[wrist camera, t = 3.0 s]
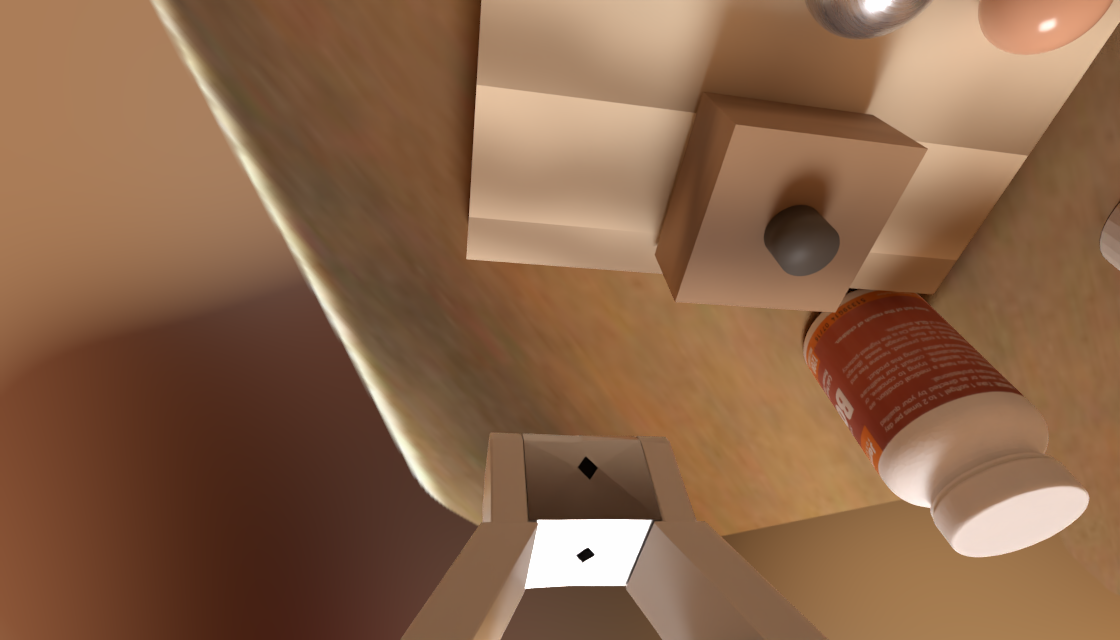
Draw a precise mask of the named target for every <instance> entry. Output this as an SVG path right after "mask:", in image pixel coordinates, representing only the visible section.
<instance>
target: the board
mask: <svg viewBox="0 0 1120 640" xmlns="http://www.w3.org/2000/svg"><path fill="white" fill-rule="evenodd" d="M979 1H980V0H934V1H933V2H932V3H931V4H930V5H929V6H928V7H927V8H926V9H925V10H924V11H923V12H922V13H921V14H920V15H919V16H918V17H916V18H915V19H914V20H912V21H911V22H910V23H908V24H906V25H905V26H903V27H902V28H900V29H898V30H896V31H893V32H891V33H889V34H886V35H883V36H880V37H875V38H871V39H848V38H844V37H840V36H837V35H834V34H832V33H830V32H829V31H827V30H826V29H824V28H823V27H821V26H820V25H819V24H818V23H817V22H816V21H815V19H814V18H813V16H812V15H811V14H810V12H809V10H808V8H807V6H806V3H805V0H481V17H480V34H479V52H478V69H477V86H476V104H475V121H474V138H473V156H472V173H471V190H470V208H469V225H468V242H467V259H473V260H486V261H499V262H512V263H525V264H539V265H552V266H565V267H578V268H592V269H605V270H618V271H631V272H644V273H658V274H663V273H662V271H661V268H660V266H659V264H658V262H657V259H656V257H655V252H656V248H657V245H658V242H659V238H660V235H661V232H662V228H663V225H664V221H665V218H666V215H667V211H668V208H669V205H670V201H671V198H672V194H673V191H674V188H675V184H676V181H677V177H678V174H679V171H680V167H681V164H682V161H683V157H684V154H685V150H686V147H687V144H688V140H689V137H690V134H691V130H692V127H693V123H694V120H695V117H696V113H697V110H698V106H699V103H700V100H701V96H702V93H703V92H709V93H716V94H724V95H731V96H739V97H746V98H753V99H761V100H768V101H775V102H783V103H790V104H797V105H805V106H812V107H819V108H827V109H834V110H841V111H849V112H856V113H864V114H871V115H874V116H875V117H877V118H879V119H880V120H882V121H884V122H885V123H887V124H889V125H890V126H892V127H893V128H895V129H897V130H898V131H900V132H902V133H903V134H905V135H906V136H908V137H910V138H911V139H913V140H915V141H916V142H918V143H919V144H921V145H923V146H924V147H926V148H928V150H927V152H926V153H925V155H924V157H923V159H922V161H921V162H920V164H919V166H918V168H917V169H916V171H915V173H914V175H913V176H912V178H911V180H910V182H909V183H908V185H907V187H906V189H905V191H904V192H903V194H902V196H901V198H900V199H899V201H898V203H897V205H896V206H895V208H894V210H893V212H892V214H891V215H890V217H889V219H888V221H887V222H886V224H885V226H884V228H883V229H882V231H881V233H880V235H879V236H878V238H877V240H876V242H875V244H874V245H873V247H872V249H871V251H870V252H869V254H868V256H867V258H866V259H865V261H864V263H863V265H862V266H861V268H860V270H859V272H858V274H857V275H856V277H855V279H854V281H853V282H852V284H851V286H850V288H856V289H869V290H882V291H896V292H909V293H922V294H934V293H935V291H936V290H937V288H938V287H939V285H940V284H941V282H942V281H943V279H944V278H945V277H946V275H947V274H948V272H949V271H950V269H951V268H952V266H953V265H954V263H955V262H956V260H957V259H958V257H959V256H960V255H961V253H962V252H963V250H964V249H965V247H966V246H967V244H968V243H969V241H970V240H971V238H972V237H973V236H974V234H975V233H976V231H977V230H978V228H979V227H980V225H981V224H982V222H983V221H984V219H985V218H986V217H987V215H988V214H989V212H990V211H991V209H992V208H993V206H994V205H995V203H996V202H997V200H998V199H999V197H1000V196H1001V195H1002V193H1003V192H1004V190H1005V189H1006V187H1007V186H1008V184H1009V183H1010V181H1011V180H1012V178H1013V177H1014V176H1015V174H1016V173H1017V171H1018V170H1019V168H1020V167H1021V165H1022V164H1023V162H1024V161H1025V159H1026V158H1027V156H1028V155H1029V154H1030V152H1031V151H1032V149H1033V148H1034V146H1035V145H1036V143H1037V142H1038V140H1039V139H1040V137H1041V136H1042V135H1043V133H1044V132H1045V130H1046V129H1047V127H1048V126H1049V124H1050V123H1051V121H1052V120H1053V118H1054V117H1055V116H1056V114H1057V113H1058V111H1059V110H1060V108H1061V107H1062V105H1063V104H1064V102H1065V101H1066V99H1067V98H1068V96H1069V95H1070V94H1071V92H1072V91H1073V89H1074V88H1075V86H1076V85H1077V83H1078V82H1079V80H1080V79H1081V77H1082V76H1083V75H1084V73H1085V72H1086V70H1087V69H1088V67H1089V66H1090V64H1091V63H1092V61H1093V60H1094V58H1095V57H1096V55H1097V54H1098V53H1099V51H1100V50H1101V48H1102V47H1103V45H1104V44H1105V42H1106V41H1107V39H1108V38H1109V36H1110V35H1111V34H1112V32H1113V31H1114V29H1115V28H1116V26H1117V25H1118V23H1119V22H1120V0H1113V2H1112V4H1111V6H1110V7H1109V9H1108V10H1107V12H1106V13H1105V14H1104V15H1103V17H1102V18H1101V19H1100V20H1099V21H1098V22H1097V23H1096V24H1095V25H1094V26H1093V27H1092V28H1091V29H1090V30H1089V31H1087V32H1086V33H1085V34H1083V35H1082V36H1081V37H1079V38H1078V39H1076V40H1075V41H1073V42H1071V43H1069V44H1067V45H1065V46H1063V47H1061V48H1058V49H1056V50H1053V51H1049V52H1046V53H1041V54H1035V55H1016V54H1012V53H1008V52H1004V51H1002V50H1000V49H998V48H996V47H995V46H994V45H992V44H991V43H990V42H989V41H988V40H987V39H986V38H985V36H984V35H983V33H982V31H981V28H980V25H979V21H978V6H979Z"/></svg>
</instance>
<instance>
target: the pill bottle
mask: <svg viewBox="0 0 1120 640" xmlns="http://www.w3.org/2000/svg"><path fill="white" fill-rule="evenodd" d="M803 352H804V358H805V361H806V363H807V365H808V367H809V369H810V370H811V372H812V373H813V375H814V376H815V378H816V380H817V381H818V383H819V384H820V386H821V387H822V389H823V390H824V392H825V393H826V395H827V396H828V398H829V399H830V401H831V402H832V404H833V405H834V407H835V408H836V410H837V411H838V413H839V414H840V416H841V418H842V419H843V420H844V422H845V423H846V425H847V426H848V428H849V430H850V431H851V433H852V434H853V436H854V437H855V439H856V440H857V442H858V443H859V445H860V446H861V448H862V449H863V451H864V452H865V454H866V455H867V457H868V458H869V460H870V462H871V463H872V464H873V466H874V467H875V469H876V471H877V472H878V474H879V475H880V477H881V478H882V479H883V481H884V482H885V483H886V485H887V486H888V487H889V488H890V490H891V491H892V492H893V493H894V494H896V495H897V496H898V497H900V498H901V499H903V500H905V501H907V502H909V503H911V504H914V505H918V506H922V507H928V508H931V509H930V511H931V515H932V517H933V520H934V523H935V525H936V526H937V528H938V529H939V530H940V532H941V533H942V534H943V536H944V537H945V538H946V540H947V541H948V542H949V544H950V545H951V546H952V548H953V549H954V550H955V551H956V552H958V553H960V554H962V555H965V556H970V557H986V556H995V555H1001V554H1005V553H1010V552H1013V551H1016V550H1019V549H1022V548H1025V547H1028V546H1031V545H1033V544H1036V543H1038V542H1040V541H1043V540H1045V539H1047V538H1049V537H1051V536H1053V535H1054V534H1056V533H1058V532H1059V531H1061V530H1063V529H1064V528H1066V527H1067V526H1068V525H1070V524H1071V523H1072V522H1074V521H1075V520H1076V519H1077V518H1078V517H1079V516H1080V515H1081V514H1082V513H1083V512H1084V511H1085V509H1086V507H1087V505H1088V502H1089V495H1088V492H1087V491H1086V489H1085V488H1084V487H1083V486H1082V485H1081V484H1080V483H1079V482H1078V481H1077V480H1076V478H1075V477H1074V476H1073V475H1072V474H1071V473H1070V472H1069V471H1068V470H1067V468H1066V467H1065V466H1064V465H1063V464H1062V463H1060V462H1059V461H1057V460H1056V459H1055V458H1053V457H1052V456H1050V455H1047V454H1044V453H1045V451H1046V448H1047V445H1048V439H1049V437H1048V428H1047V425H1046V422H1045V420H1044V418H1043V416H1042V415H1041V414H1040V412H1039V411H1038V410H1037V409H1036V408H1035V407H1034V406H1033V405H1032V404H1031V403H1030V402H1029V401H1028V400H1027V399H1026V398H1025V397H1024V396H1023V395H1022V394H1021V393H1020V392H1019V391H1018V390H1017V389H1016V388H1015V387H1014V386H1013V385H1012V384H1011V383H1010V382H1009V381H1008V380H1007V379H1006V378H1004V377H1003V376H1002V375H1001V374H1000V373H999V372H998V371H997V370H996V369H995V368H994V367H993V366H992V365H991V364H990V363H989V362H988V361H987V360H986V359H985V358H984V357H983V356H982V355H981V354H980V353H979V352H978V351H977V350H975V349H974V348H973V347H972V346H971V345H970V344H969V343H968V342H967V341H966V340H965V339H964V338H963V337H962V336H961V335H960V334H959V333H958V332H957V331H956V330H955V329H954V328H953V327H952V326H951V325H950V324H949V323H948V322H947V321H946V320H945V319H944V318H943V317H942V316H941V315H939V314H938V313H937V312H936V311H935V310H934V309H933V308H932V307H931V306H930V305H929V304H928V303H927V302H926V301H925V300H924V299H923V298H922V297H921V296H919V295H918V294H917V293H909V292H896V291H882V290H869V289H859V290H856V291H853V292H851V293H848V294H846V295H845V297H844V298H843V300H842V302H841V304H840V305H839V307H838V309H837V311H836V312H835V313H834V312H822V313H821V314H820V315H819V316H818V317H817V318H816V320H815V321H814V322H813V324H812V325H811V327H810V329H809V330H808V332H807V335H806V338H805V341H804V348H803Z"/></svg>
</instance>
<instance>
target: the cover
mask: <svg viewBox="0 0 1120 640" xmlns="http://www.w3.org/2000/svg"><path fill="white" fill-rule="evenodd" d="M927 150H928V148H926V147H924V146H923V145H921V144H919V143H918V142H916V141H915V140H913V139H911V138H910V137H908V136H906V135H905V134H903V133H902V132H900V131H898V130H897V129H895V128H893V127H892V126H890V125H889V124H887V123H885V122H884V121H882V120H880V119H879V118H877V117H875V116H874V115H871V114H864V113H856V112H849V111H841V110H834V109H827V108H819V107H812V106H805V105H797V104H790V103H783V102H775V101H768V100H761V99H753V98H746V97H739V96H731V95H724V94H716V93H709V92H703V93H702V96H701V100H700V103H699V106H698V110H697V113H696V117H695V120H694V123H693V127H692V130H691V134H690V137H689V140H688V144H687V147H686V150H685V154H684V157H683V161H682V164H681V167H680V171H679V174H678V177H677V181H676V184H675V188H674V191H673V194H672V198H671V201H670V205H669V208H668V211H667V215H666V218H665V221H664V225H663V228H662V232H661V235H660V238H659V242H658V245H657V248H656V252H655V257H656V259H657V262H658V264H659V266H660V268H661V271H662V273H663V275H664V278H665V280H666V282H667V284H668V287H669V289H670V291H671V294H672V296H673V298H674V300H675V302H684V303H699V304H714V305H729V306H744V307H759V308H774V309H789V310H804V311H819V312H834V313H835V312H836V311H837V309H838V307H839V305H840V304H841V302H842V300H843V298H844V297H845V295H846V293H847V291H848V289H849V288H850V286H851V284H852V282H853V281H854V279H855V277H856V275H857V274H858V272H859V270H860V268H861V266H862V265H863V263H864V261H865V259H866V258H867V256H868V254H869V252H870V251H871V249H872V247H873V245H874V244H875V242H876V240H877V238H878V236H879V235H880V233H881V231H882V229H883V228H884V226H885V224H886V222H887V221H888V219H889V217H890V215H891V214H892V212H893V210H894V208H895V206H896V205H897V203H898V201H899V199H900V198H901V196H902V194H903V192H904V191H905V189H906V187H907V185H908V183H909V182H910V180H911V178H912V176H913V175H914V173H915V171H916V169H917V168H918V166H919V164H920V162H921V161H922V159H923V157H924V155H925V153H926V152H927Z"/></svg>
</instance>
